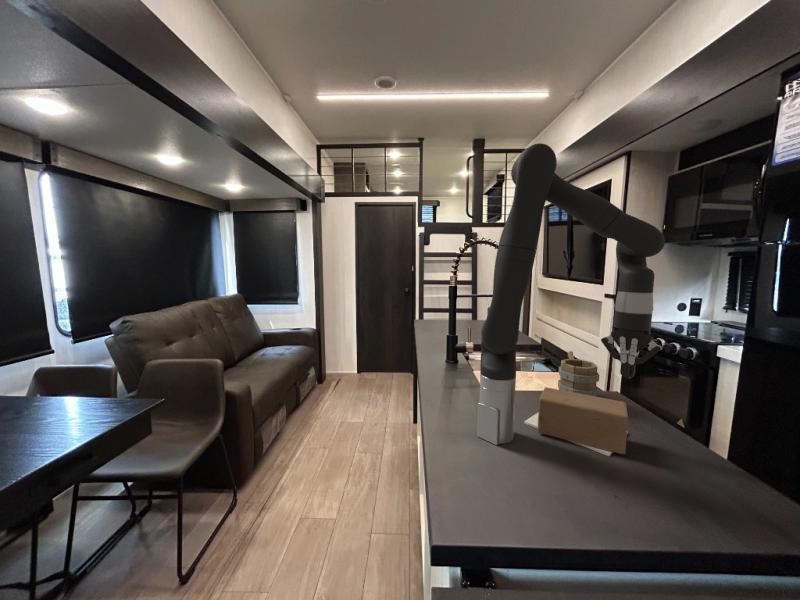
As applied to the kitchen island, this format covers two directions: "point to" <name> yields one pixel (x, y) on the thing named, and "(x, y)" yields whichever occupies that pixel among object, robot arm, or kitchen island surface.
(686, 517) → the kitchen island surface
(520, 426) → the kitchen island surface
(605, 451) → the mat
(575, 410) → the wooden block
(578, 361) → the tankard
